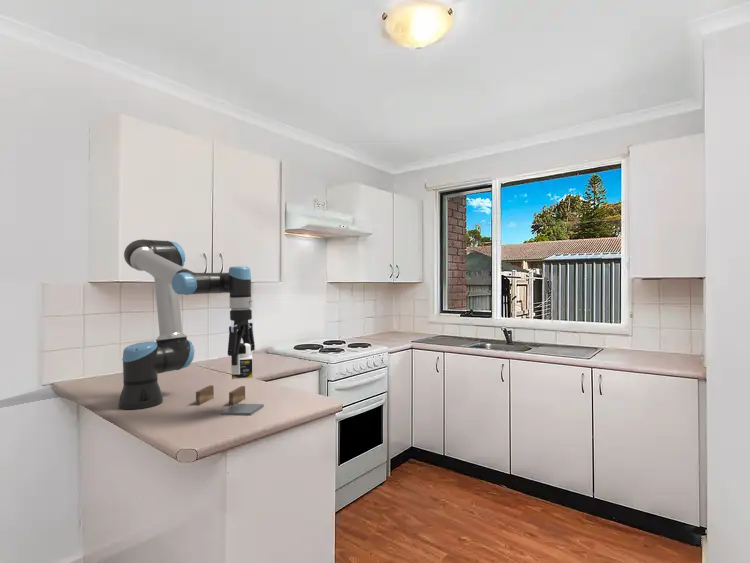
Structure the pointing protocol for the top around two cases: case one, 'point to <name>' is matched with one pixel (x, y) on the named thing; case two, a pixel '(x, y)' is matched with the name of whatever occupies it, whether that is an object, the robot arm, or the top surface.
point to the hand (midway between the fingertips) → (242, 371)
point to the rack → (208, 394)
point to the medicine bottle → (244, 362)
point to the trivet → (242, 409)
